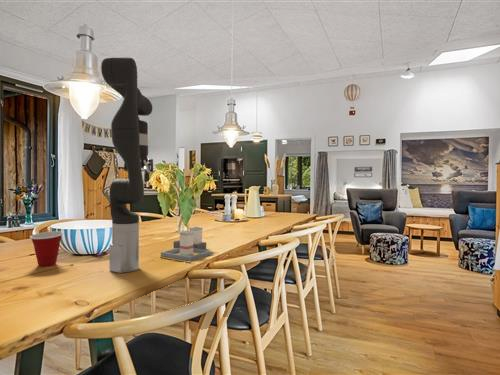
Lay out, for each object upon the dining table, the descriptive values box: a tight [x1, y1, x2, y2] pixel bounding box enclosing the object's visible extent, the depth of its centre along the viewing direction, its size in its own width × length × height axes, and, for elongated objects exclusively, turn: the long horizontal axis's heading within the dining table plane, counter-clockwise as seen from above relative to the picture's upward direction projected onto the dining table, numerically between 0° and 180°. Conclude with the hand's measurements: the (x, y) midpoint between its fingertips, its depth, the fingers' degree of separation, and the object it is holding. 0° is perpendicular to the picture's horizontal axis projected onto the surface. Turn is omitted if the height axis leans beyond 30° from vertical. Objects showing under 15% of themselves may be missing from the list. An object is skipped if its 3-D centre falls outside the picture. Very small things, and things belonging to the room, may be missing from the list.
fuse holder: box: [173, 239, 207, 250], centre depth 155 cm, size 7×14×4 cm, turn 60°
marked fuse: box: [178, 230, 194, 257], centre depth 141 cm, size 4×4×10 cm
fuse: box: [189, 226, 203, 244], centre depth 153 cm, size 4×4×10 cm
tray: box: [160, 248, 212, 264], centre depth 141 cm, size 14×16×2 cm
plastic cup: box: [29, 230, 64, 268], centre depth 126 cm, size 11×11×12 cm
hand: (139, 181), depth 146 cm, fingers open, 8 cm apart
